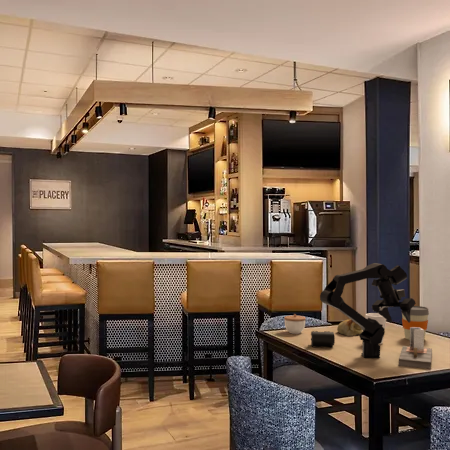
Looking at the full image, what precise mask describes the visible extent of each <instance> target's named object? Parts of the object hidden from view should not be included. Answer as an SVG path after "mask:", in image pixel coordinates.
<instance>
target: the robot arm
mask: <svg viewBox="0 0 450 450" xmlns="http://www.w3.org/2000/svg"><path fill="white" fill-rule="evenodd" d="M366 279H373V281H372V282H371V286H373V287H377V288H378V291H379V293H380V295H379V298H380V299H377V300H376V301H375V302H374V303H373V304H371V305H372V306H371V309H372V311H373V313H379V314H380V315H381V316H383V317H384V318H385V319H386V321H388V322H389V323H390V324H391V323H393V320H392V317H391V315H390V314H391V313H390V312H389V308H399V309H400V310H401V312H402V313H401V315H402V314H403V315H404V317H405V318H406V320H407V321H408V322H409V323H410V321H411V318H410V311H411V308H412V307H413V306H416V303H417V302H416V301H415V299H414V298H411V297H410V298H405V297H406V293H405V289H396V288H394V286H397V285H399V284H401V283H402V282H403V281H405V280H406V279H408V274H407V272H406V271H405V270H404V269H403V268H402V267H401V266H400V265H396V266H394V267H393V268H391V269H388V267H387V266H386V265H385V264H381V263H377V262H374V263H370V264H368V265H366V266H365V267H364V268H362V269H359V270H354V271H350V272H345V273H342V274H336V275H334V277H333V278H332V280H331V281H330V282H328V283H327V285H326V286H325V287H324V290H322V291H321V292H320V293H319V294H320V295H319V300H320V302H321V303H322V304H325V305H327V306H329V307H332V308H334V309H336V310H338V311H339V312H340V313H342V314H343V315H344V316H346V317H347V318H348V319H351V320H352V321H354V322H355V323H356V324H358V325H359V326H360V327H361V329H362V333H361V334H360V335H358V336H359V340H361V341H362V343H361V344H362V345H361V346H362V349H361V351H362V352H361V356H362V357H363V358H365V359H366V358H367V359H380V358H381V346H380V345H381V344H380V343H381V342H382V339H383V340H384V337H385V333H386V331H385V329H386V328H385V329H384V328H383V327H382V326H383V325H381V324H379V323H378V321H376V320H374V319H371V318H368V319H366V318H365V316H364V315H362V314H361V313H360V312H358V311H357V310H355V309H354V308H353V307H351V306H350V305H349V304H347V303H346V302H345V300H344V299H343V297H342V295H343V293H344V290H345V289H344V288H345V286H346V285H347V284H351V283H355V282H358V281H363V280H366ZM393 285H394V286H393ZM402 298H404V299H402ZM401 300H402V301H401ZM383 336H384V337H383Z"/></svg>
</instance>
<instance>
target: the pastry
mask: <svg viewBox="0 0 450 450" xmlns="http://www.w3.org/2000/svg"><path fill="white" fill-rule="evenodd" d="M336 330H337V332H338V333H339V334H340V335H343V336H346V337H347V336H348V337H356V336H359V335H360V334H361V333H362V332H363V330H362V329H361V327H360V326H359V325H358V324H356V323H355V322H354V321H352V320H351V319H350V318H348V319H345V320H343V321H341V322H340V323H339V324H338V325H337V328H336Z"/></svg>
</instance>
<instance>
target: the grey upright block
mask: <svg viewBox="0 0 450 450" xmlns="http://www.w3.org/2000/svg"><path fill="white" fill-rule="evenodd" d="M424 343H425V339H424V330H423V329H421V328H410V340H409V347H410V349H414V348H417V351H424V348H425V344H424Z"/></svg>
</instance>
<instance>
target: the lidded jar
mask: <svg viewBox="0 0 450 450" xmlns="http://www.w3.org/2000/svg"><path fill="white" fill-rule="evenodd" d="M306 319H307V318H306V317H305V316H304V315H297V313H293V315H286V316H285V315H284V326H285V329H286V331H288V333H289V334H293V335H298V334H299V335H300V334H302V332H304V329H305V327H306Z"/></svg>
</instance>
